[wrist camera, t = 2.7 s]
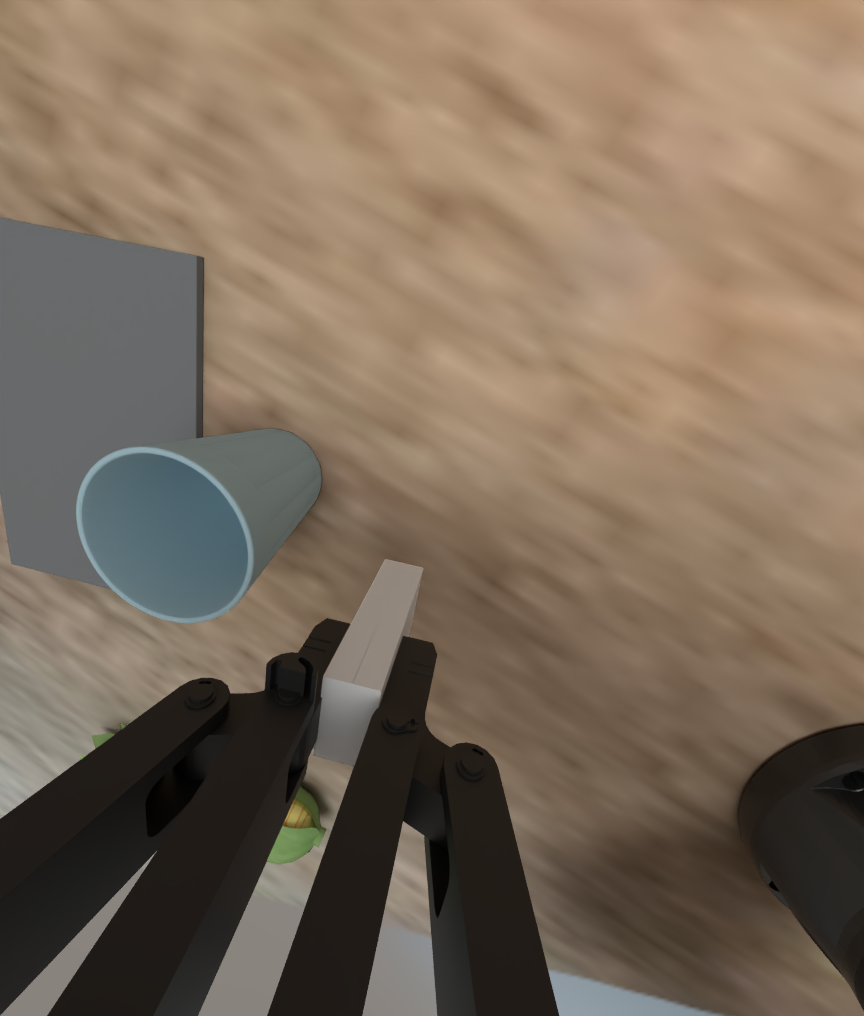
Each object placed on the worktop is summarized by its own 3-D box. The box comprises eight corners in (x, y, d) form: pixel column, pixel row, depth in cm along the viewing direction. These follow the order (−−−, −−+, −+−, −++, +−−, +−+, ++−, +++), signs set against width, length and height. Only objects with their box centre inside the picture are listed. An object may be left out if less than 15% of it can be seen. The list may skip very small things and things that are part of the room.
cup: (246, 382, 27) (100, 408, 17) (361, 453, 27) (282, 516, 18) (203, 488, 30) (56, 562, 20) (308, 551, 30) (214, 652, 20)
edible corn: (300, 886, 35) (309, 871, 32) (63, 770, 36) (52, 745, 33) (331, 813, 39) (342, 793, 36) (118, 710, 40) (112, 683, 37)
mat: (203, 257, 25) (196, 256, 24) (201, 606, 33) (195, 610, 32) (-33, 211, 26) (-45, 209, 25) (19, 560, 34) (11, 563, 33)
